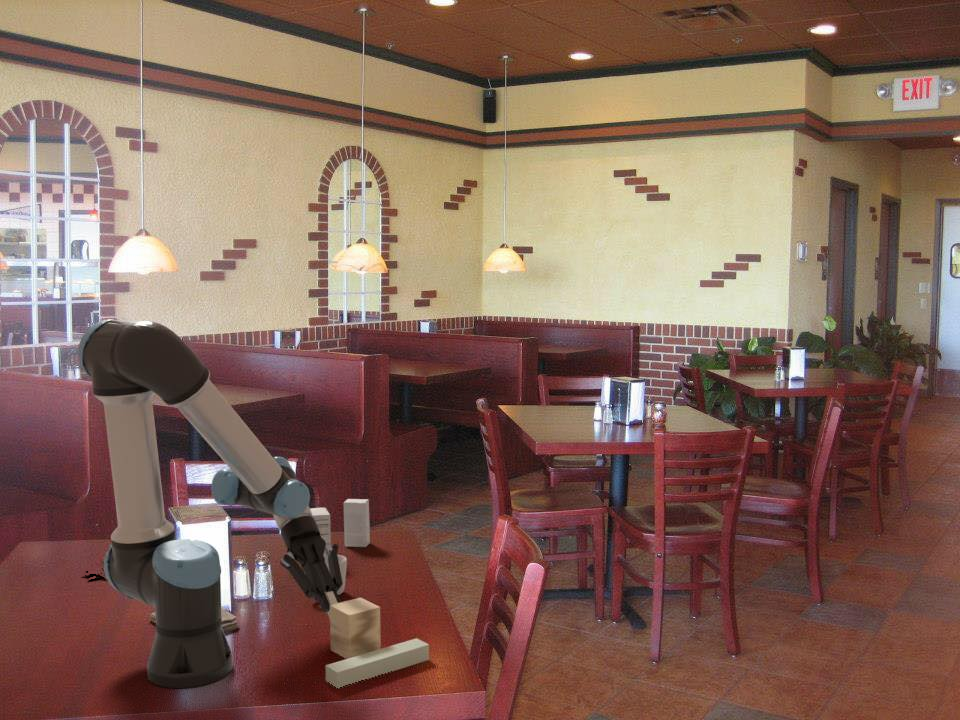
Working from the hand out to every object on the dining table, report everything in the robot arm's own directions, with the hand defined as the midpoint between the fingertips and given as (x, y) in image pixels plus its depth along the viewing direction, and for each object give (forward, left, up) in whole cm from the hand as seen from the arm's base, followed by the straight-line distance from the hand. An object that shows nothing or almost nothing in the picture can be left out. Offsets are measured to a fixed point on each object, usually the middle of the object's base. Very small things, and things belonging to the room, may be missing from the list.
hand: (339, 623), depth 196 cm
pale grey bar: (-5, -16, -3) cm, 17 cm away
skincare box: (+46, +47, -4) cm, 66 cm away
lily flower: (-10, +74, -4) cm, 75 cm away
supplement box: (+30, +45, -4) cm, 54 cm away
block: (-1, -6, -4) cm, 7 cm away
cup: (+15, +23, -4) cm, 28 cm away
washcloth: (-14, +30, -4) cm, 33 cm away
